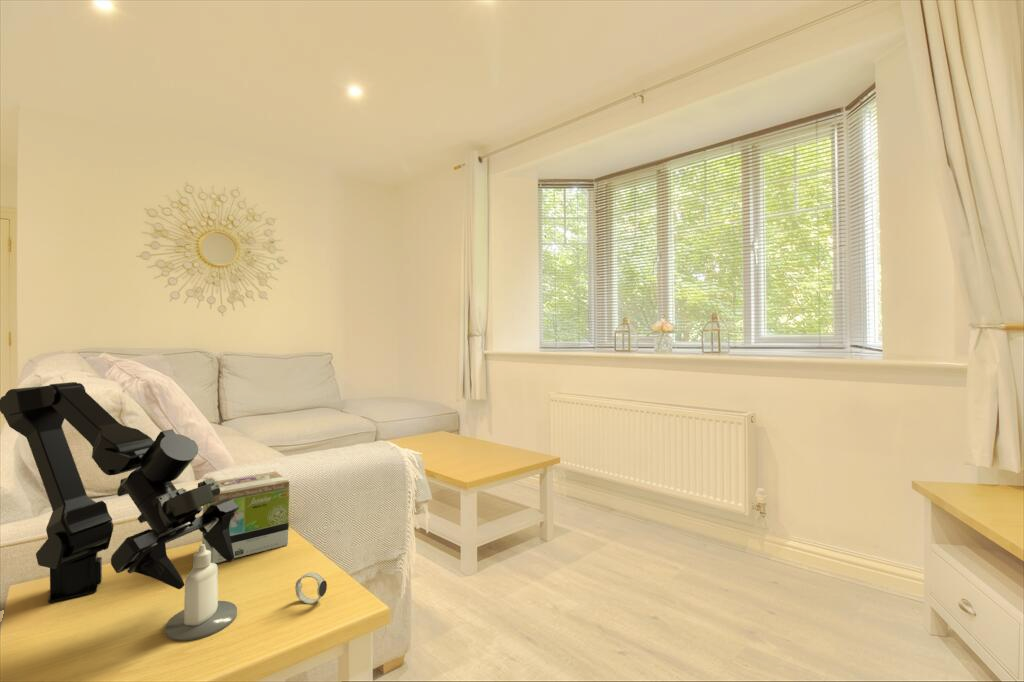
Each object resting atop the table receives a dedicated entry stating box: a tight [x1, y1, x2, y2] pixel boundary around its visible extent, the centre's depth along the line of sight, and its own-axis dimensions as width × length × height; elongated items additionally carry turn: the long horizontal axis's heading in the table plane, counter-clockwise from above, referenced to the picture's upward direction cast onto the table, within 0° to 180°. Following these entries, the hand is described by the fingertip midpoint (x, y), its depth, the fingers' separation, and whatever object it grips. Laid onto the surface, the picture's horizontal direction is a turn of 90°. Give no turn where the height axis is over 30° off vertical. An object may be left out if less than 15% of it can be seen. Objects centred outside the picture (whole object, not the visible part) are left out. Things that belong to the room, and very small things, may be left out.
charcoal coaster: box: [164, 600, 238, 642], centre depth 80 cm, size 10×10×1 cm
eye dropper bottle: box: [183, 543, 219, 626], centre depth 80 cm, size 4×6×12 cm
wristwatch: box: [294, 571, 328, 605], centre depth 87 cm, size 3×5×5 cm, turn 81°
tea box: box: [201, 470, 290, 564], centre depth 107 cm, size 15×10×15 cm, turn 132°
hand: (208, 573), depth 80 cm, fingers open, 9 cm apart
